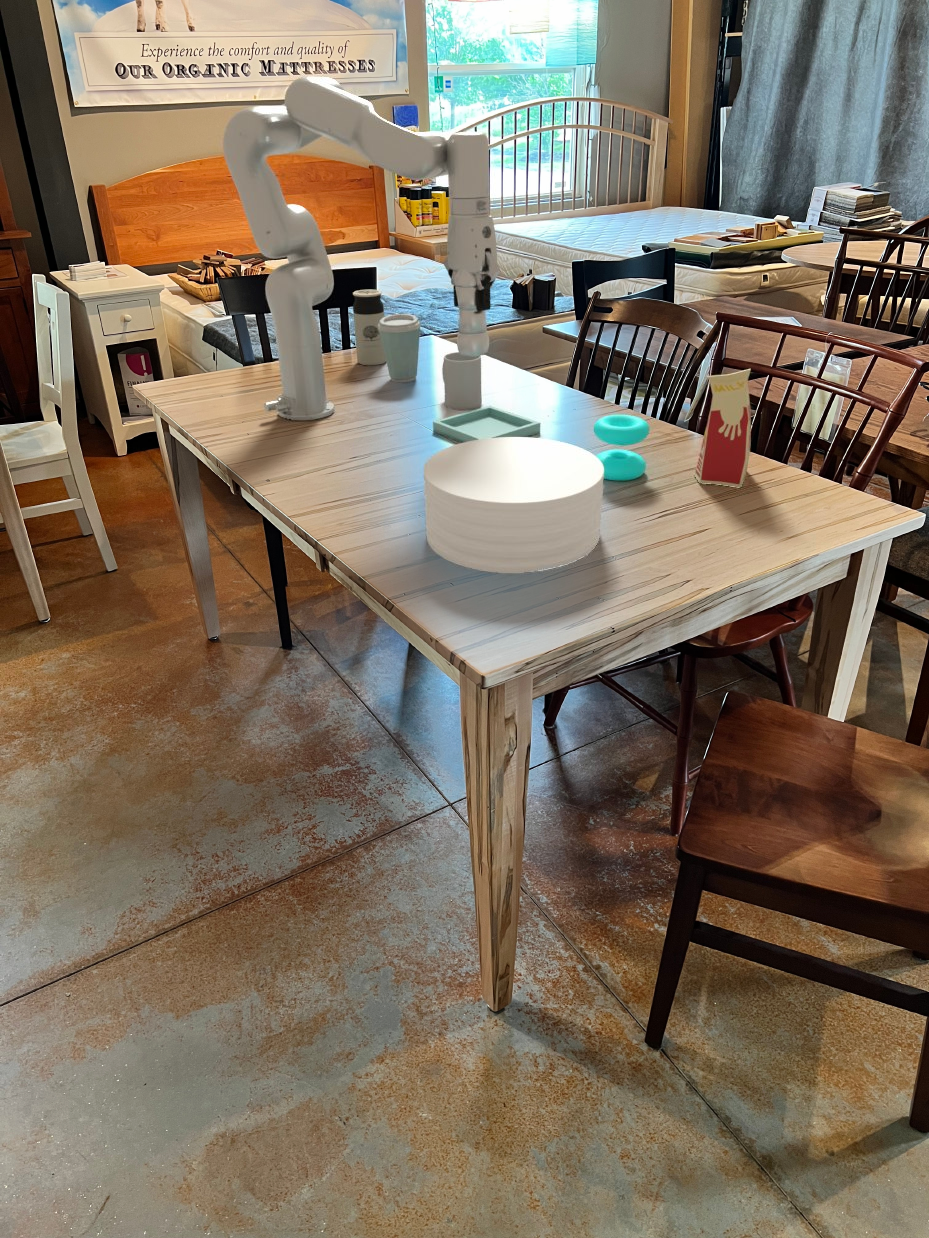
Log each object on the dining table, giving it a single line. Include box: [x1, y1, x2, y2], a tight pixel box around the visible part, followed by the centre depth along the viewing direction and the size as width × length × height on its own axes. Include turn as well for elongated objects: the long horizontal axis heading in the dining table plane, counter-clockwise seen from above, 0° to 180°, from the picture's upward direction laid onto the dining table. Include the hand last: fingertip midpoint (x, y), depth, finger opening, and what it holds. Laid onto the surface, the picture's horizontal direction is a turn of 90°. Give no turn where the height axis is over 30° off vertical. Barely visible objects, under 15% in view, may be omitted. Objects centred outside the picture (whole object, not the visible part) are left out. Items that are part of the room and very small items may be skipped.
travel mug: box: [352, 289, 387, 366], centre depth 229 cm, size 8×8×18 cm
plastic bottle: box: [455, 268, 490, 357], centre depth 171 cm, size 6×7×20 cm
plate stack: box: [423, 436, 605, 574], centre depth 138 cm, size 28×28×12 cm
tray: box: [432, 405, 541, 443], centre depth 182 cm, size 16×16×2 cm
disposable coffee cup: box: [377, 313, 422, 383], centre depth 215 cm, size 11×11×15 cm
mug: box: [441, 351, 483, 411], centre depth 198 cm, size 12×8×11 cm
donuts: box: [593, 414, 650, 482], centre depth 159 cm, size 10×10×10 cm
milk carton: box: [694, 368, 752, 488], centre depth 154 cm, size 9×9×20 cm
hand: (472, 307), depth 171 cm, fingers closed on plastic bottle, 6 cm apart
